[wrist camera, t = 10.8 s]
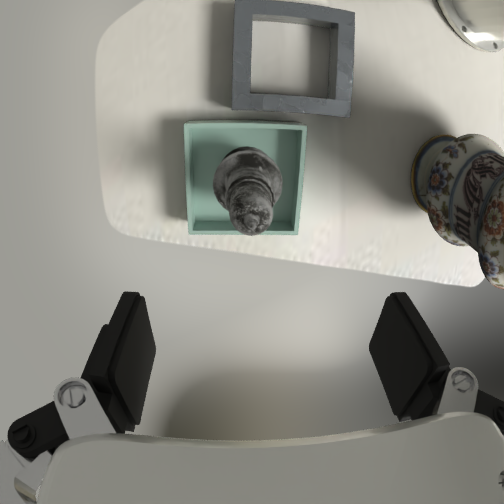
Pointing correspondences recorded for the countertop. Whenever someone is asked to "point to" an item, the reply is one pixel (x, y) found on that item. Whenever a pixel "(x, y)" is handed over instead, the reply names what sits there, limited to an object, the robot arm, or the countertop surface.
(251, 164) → the salt shaker
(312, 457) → the robot arm
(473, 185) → the apothecary jar
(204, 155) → the tray
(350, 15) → the grey square frame
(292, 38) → the countertop surface
